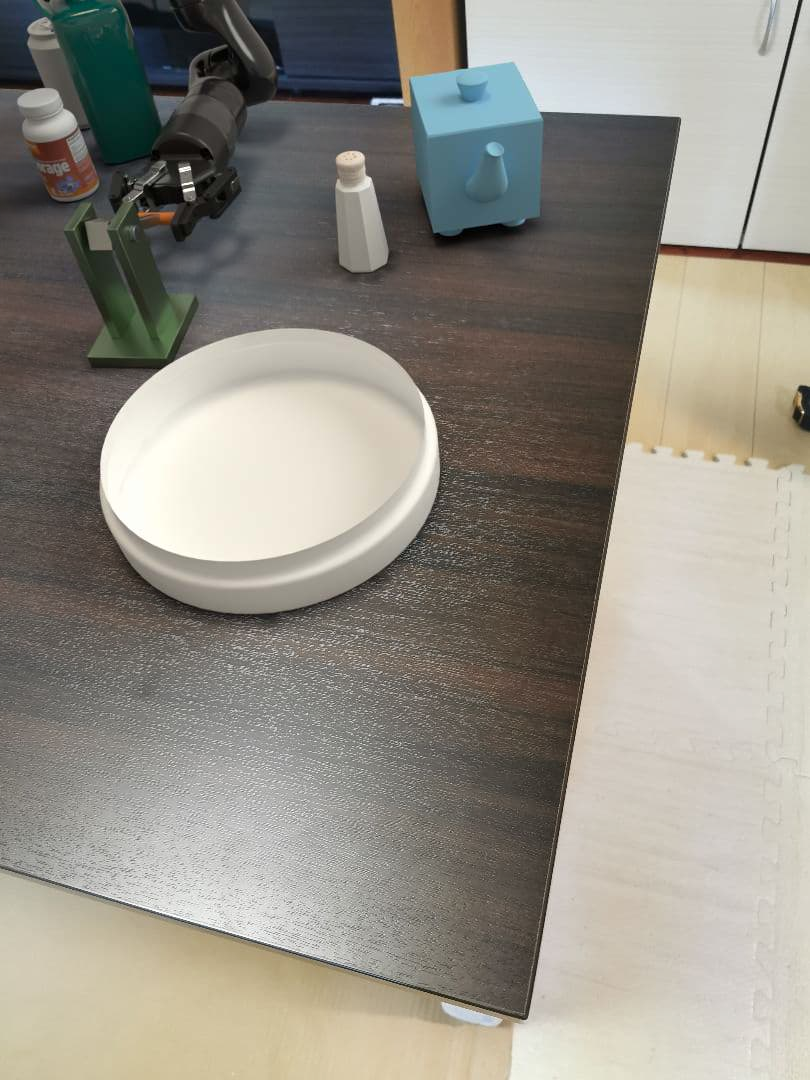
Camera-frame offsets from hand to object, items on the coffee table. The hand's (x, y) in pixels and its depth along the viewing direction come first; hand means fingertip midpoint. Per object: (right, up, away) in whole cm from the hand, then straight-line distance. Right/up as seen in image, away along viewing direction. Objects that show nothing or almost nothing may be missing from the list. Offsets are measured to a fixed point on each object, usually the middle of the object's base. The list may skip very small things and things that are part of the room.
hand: (149, 233), depth 83 cm
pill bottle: (-15, +12, +20) cm, 28 cm away
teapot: (+33, +5, +9) cm, 35 cm away
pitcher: (-11, +20, +26) cm, 35 cm away
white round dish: (+15, -25, -13) cm, 32 cm away
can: (-18, +27, +32) cm, 46 cm away
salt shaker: (+21, -1, +5) cm, 22 cm away
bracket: (0, -10, +1) cm, 10 cm away
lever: (-1, -2, -3) cm, 4 cm away
